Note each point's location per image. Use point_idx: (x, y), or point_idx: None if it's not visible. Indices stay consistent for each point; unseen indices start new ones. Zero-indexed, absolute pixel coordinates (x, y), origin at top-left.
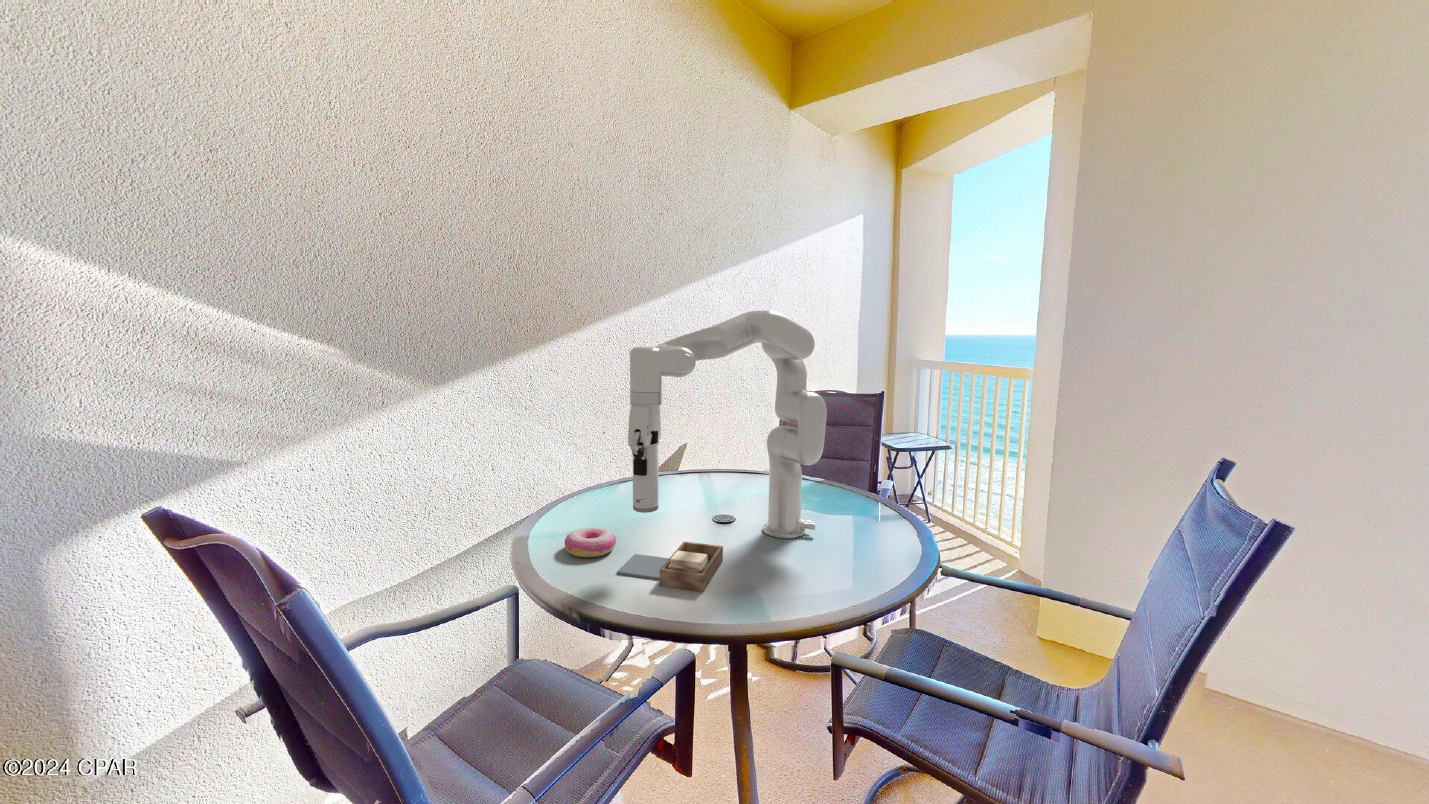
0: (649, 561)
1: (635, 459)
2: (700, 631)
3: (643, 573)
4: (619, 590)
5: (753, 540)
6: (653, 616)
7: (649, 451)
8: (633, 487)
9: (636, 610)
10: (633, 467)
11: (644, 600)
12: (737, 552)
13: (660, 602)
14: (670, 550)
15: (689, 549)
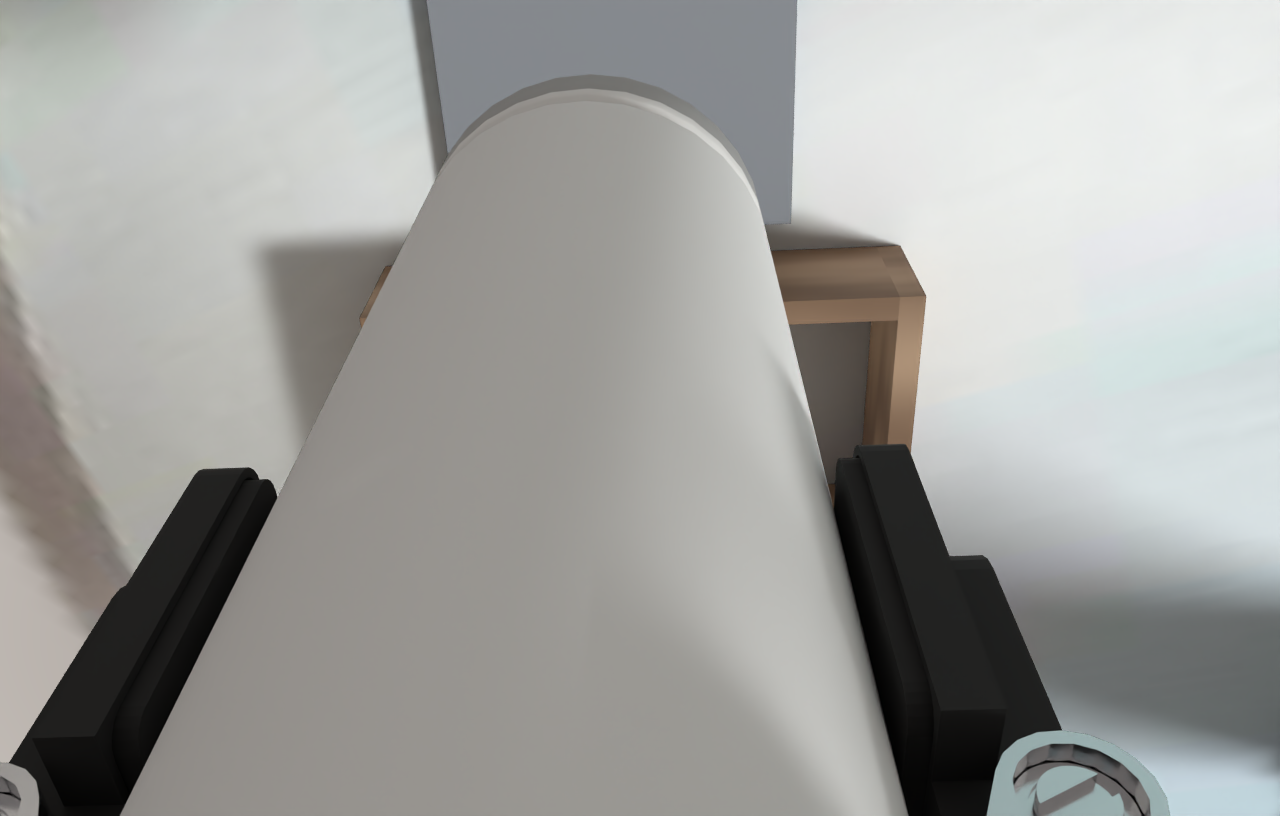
0: (685, 54)
1: (65, 760)
2: (74, 603)
3: (471, 102)
4: (193, 32)
5: (1263, 582)
6: (50, 371)
7: None
8: (410, 249)
9: (44, 260)
10: (301, 465)
11: (172, 253)
12: (1037, 541)
13: (204, 348)
14: (988, 105)
15: (885, 325)
